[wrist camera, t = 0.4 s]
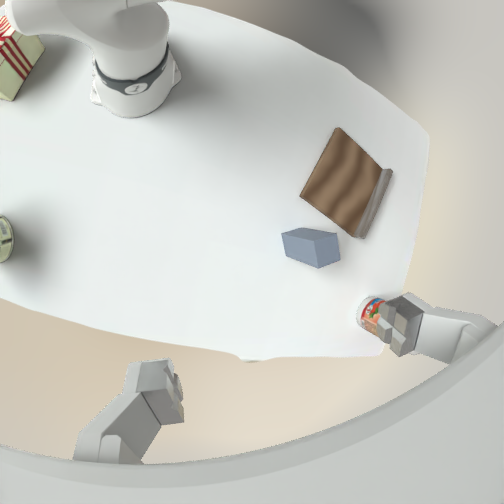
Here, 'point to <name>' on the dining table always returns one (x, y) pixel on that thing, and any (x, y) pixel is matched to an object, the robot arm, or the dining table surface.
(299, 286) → the dining table surface
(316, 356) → the dining table surface
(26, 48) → the gift box
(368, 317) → the fruit juice
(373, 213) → the shelf board
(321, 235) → the carton
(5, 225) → the coffee can
